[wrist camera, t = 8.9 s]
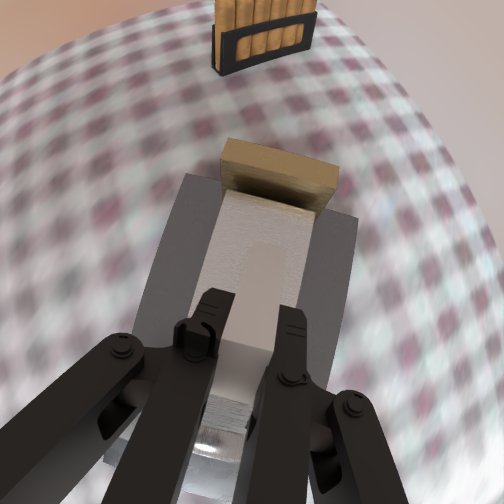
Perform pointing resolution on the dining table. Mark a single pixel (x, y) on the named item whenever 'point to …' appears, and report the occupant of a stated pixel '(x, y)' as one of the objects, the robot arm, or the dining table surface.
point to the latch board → (193, 255)
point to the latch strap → (228, 278)
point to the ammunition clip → (259, 31)
